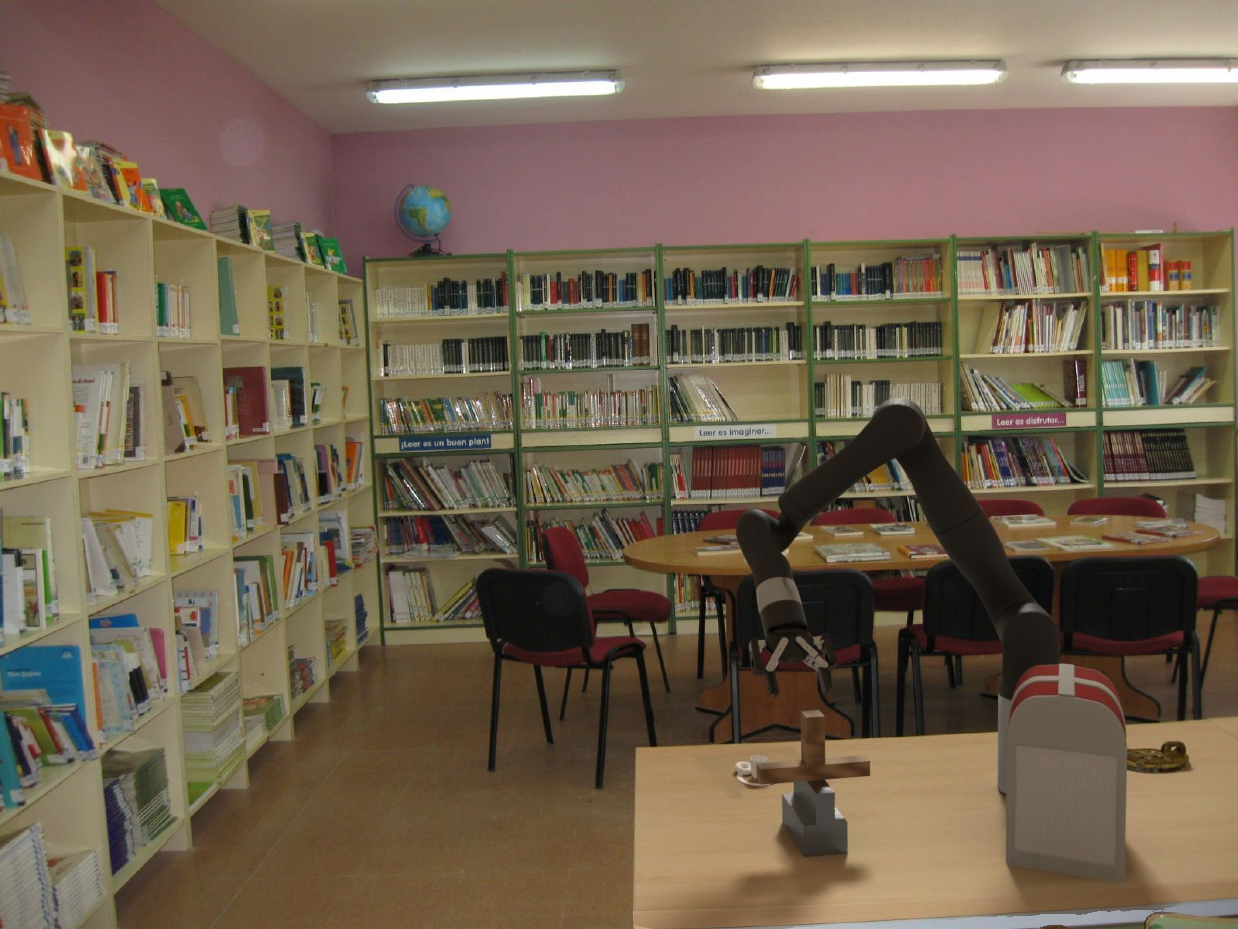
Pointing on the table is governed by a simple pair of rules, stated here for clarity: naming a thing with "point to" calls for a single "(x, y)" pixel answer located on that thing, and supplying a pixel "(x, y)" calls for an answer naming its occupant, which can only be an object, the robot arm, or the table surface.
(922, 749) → the table surface
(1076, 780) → the red-striped tombstone block
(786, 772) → the wooden t-shaped block
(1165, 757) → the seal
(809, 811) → the gray metal t-shaped block
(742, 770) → the teacup and saucer
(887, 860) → the table surface
